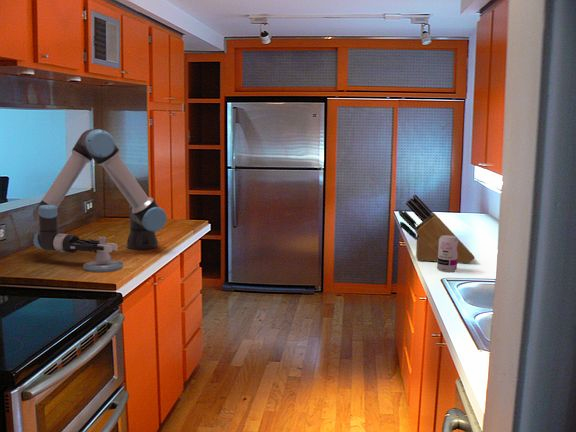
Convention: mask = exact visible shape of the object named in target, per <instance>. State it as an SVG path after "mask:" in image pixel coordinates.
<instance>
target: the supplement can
mask: <svg viewBox="0 0 576 432" xmlns="http://www.w3.org/2000/svg"><path fill="white" fill-rule="evenodd" d="M457 238H458V236H456V235H455V236H451V235H442V236H441V237H440V239H439V246H438V261H436V262H437V266H436V268H437V270H438V271H440V272H443V273H455V271H457V269H458V268H457V267H458V262H457V255H458V239H459V238H458V239H457Z"/></svg>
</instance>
